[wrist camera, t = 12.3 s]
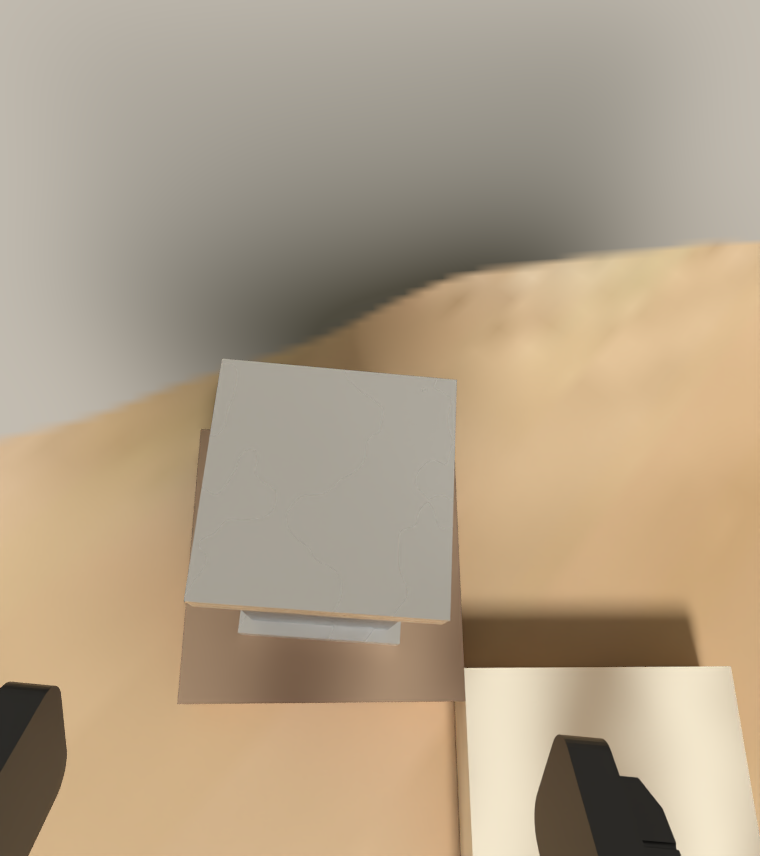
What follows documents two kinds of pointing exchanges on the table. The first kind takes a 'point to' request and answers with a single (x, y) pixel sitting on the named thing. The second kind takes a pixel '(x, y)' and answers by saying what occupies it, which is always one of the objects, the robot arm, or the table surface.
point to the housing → (326, 502)
